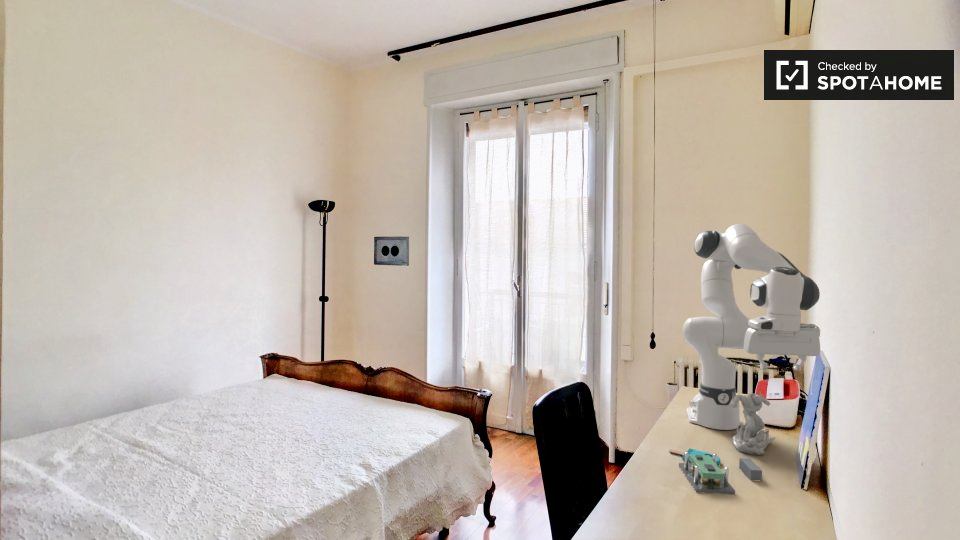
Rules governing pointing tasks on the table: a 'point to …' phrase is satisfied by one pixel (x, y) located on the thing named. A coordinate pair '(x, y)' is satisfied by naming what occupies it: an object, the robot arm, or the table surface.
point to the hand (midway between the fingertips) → (780, 369)
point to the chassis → (703, 483)
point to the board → (706, 466)
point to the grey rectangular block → (750, 469)
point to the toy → (695, 452)
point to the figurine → (751, 425)
